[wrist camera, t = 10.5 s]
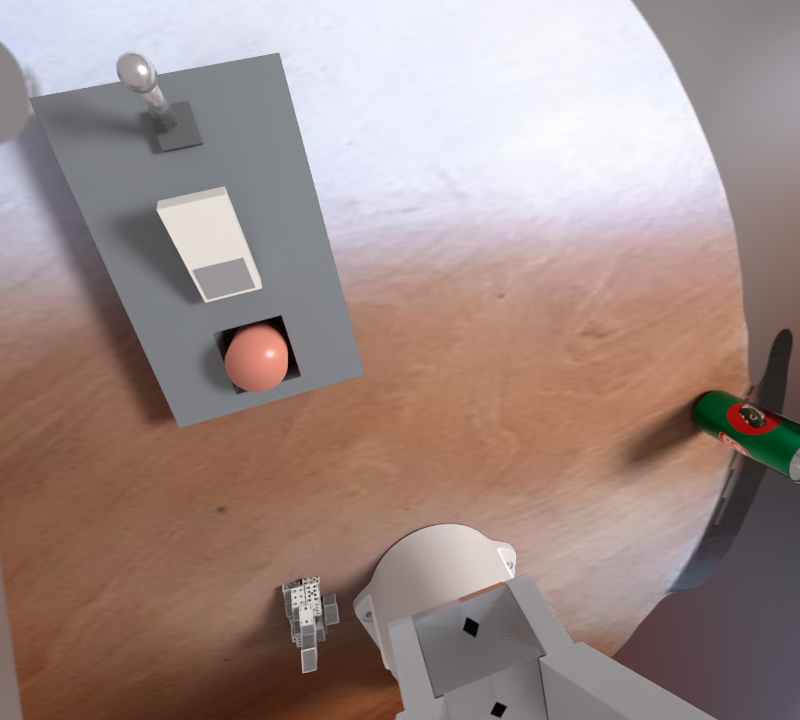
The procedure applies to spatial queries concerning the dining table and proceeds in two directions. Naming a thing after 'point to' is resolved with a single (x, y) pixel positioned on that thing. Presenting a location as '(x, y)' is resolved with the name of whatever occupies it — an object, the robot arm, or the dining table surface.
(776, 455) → the soda can
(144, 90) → the toggle lever
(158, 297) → the panel
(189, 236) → the block
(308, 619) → the house of cards
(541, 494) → the dining table surface
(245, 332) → the push button
